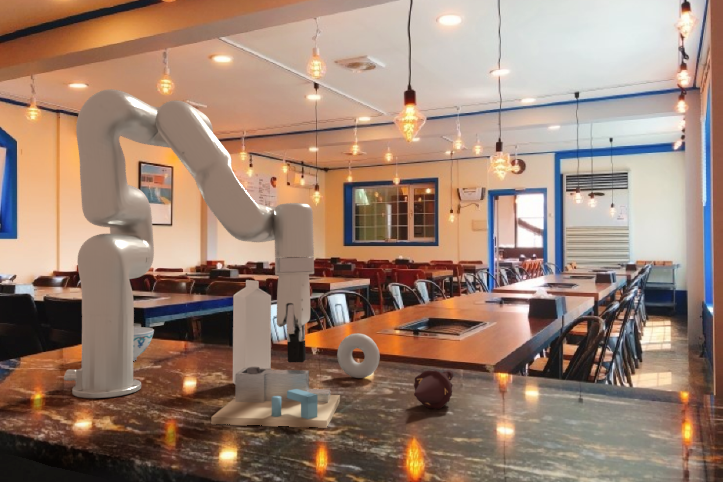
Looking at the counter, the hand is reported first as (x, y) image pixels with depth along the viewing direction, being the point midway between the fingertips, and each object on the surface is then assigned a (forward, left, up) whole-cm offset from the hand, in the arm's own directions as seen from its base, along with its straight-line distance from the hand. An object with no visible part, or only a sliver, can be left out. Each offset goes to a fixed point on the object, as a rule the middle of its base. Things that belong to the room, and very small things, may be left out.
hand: (296, 361), depth 110 cm
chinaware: (-52, +31, -7) cm, 60 cm away
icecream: (+26, -4, -7) cm, 28 cm away
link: (-1, -6, -6) cm, 9 cm away
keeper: (+3, -17, -7) cm, 18 cm away
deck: (-1, -10, -7) cm, 13 cm away
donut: (+10, +18, -7) cm, 22 cm away
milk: (-12, +10, -7) cm, 17 cm away
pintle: (-7, -7, -6) cm, 11 cm away
